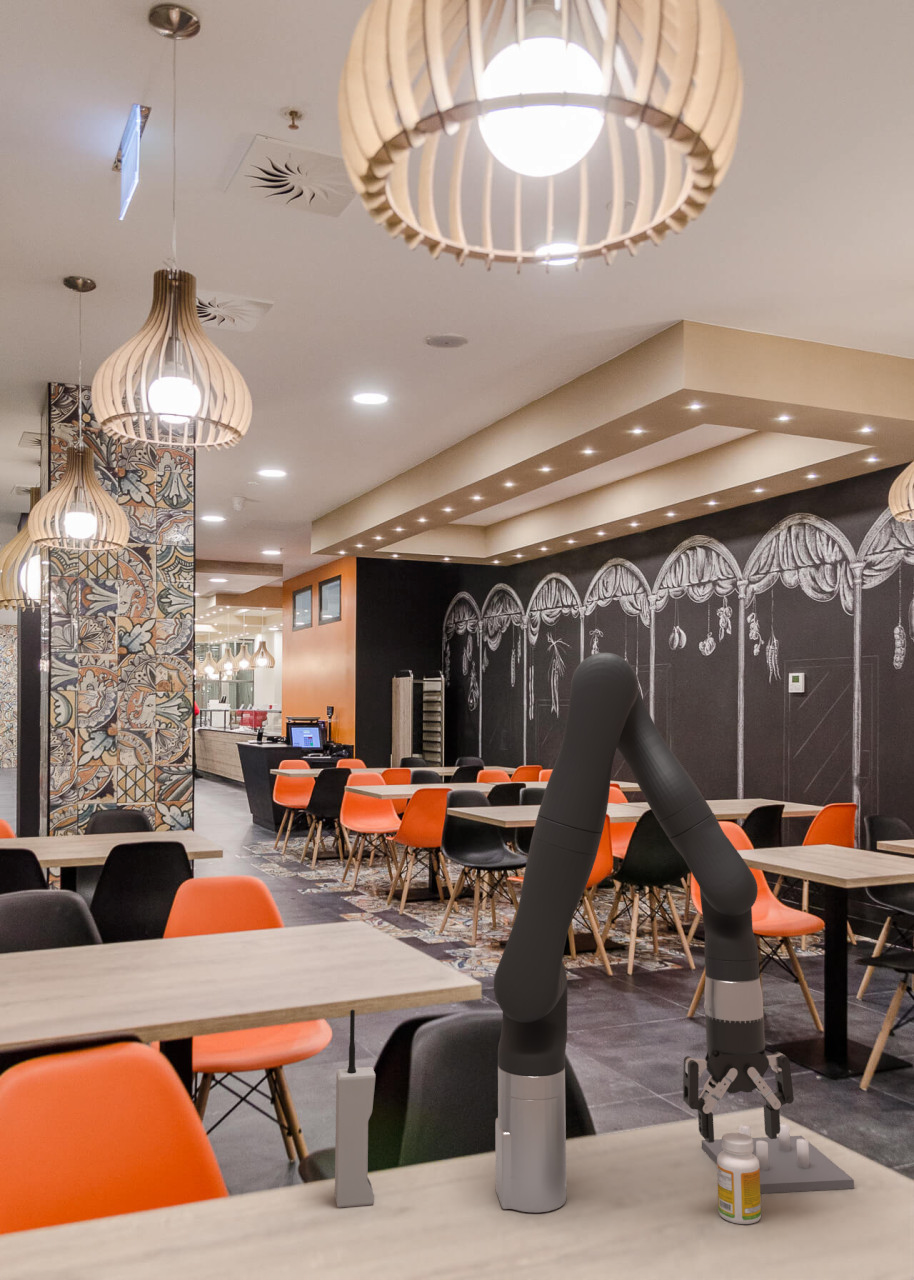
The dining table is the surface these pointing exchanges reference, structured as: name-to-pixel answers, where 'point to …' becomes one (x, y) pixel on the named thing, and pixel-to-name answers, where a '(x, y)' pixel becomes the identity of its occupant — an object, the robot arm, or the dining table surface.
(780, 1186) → the pin holder
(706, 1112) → the robot arm
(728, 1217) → the supplement bottle
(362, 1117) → the vintage mobile phone
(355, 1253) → the dining table surface
